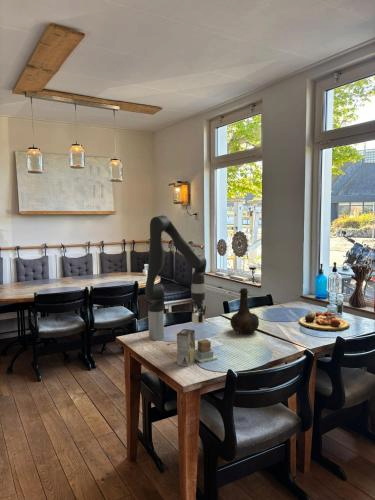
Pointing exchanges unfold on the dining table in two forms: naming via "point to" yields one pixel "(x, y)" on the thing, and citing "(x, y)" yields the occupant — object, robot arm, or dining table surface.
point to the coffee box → (186, 347)
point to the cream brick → (196, 318)
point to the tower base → (204, 356)
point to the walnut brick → (204, 345)
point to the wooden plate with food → (323, 321)
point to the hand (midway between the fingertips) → (198, 320)
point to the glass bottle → (244, 316)
